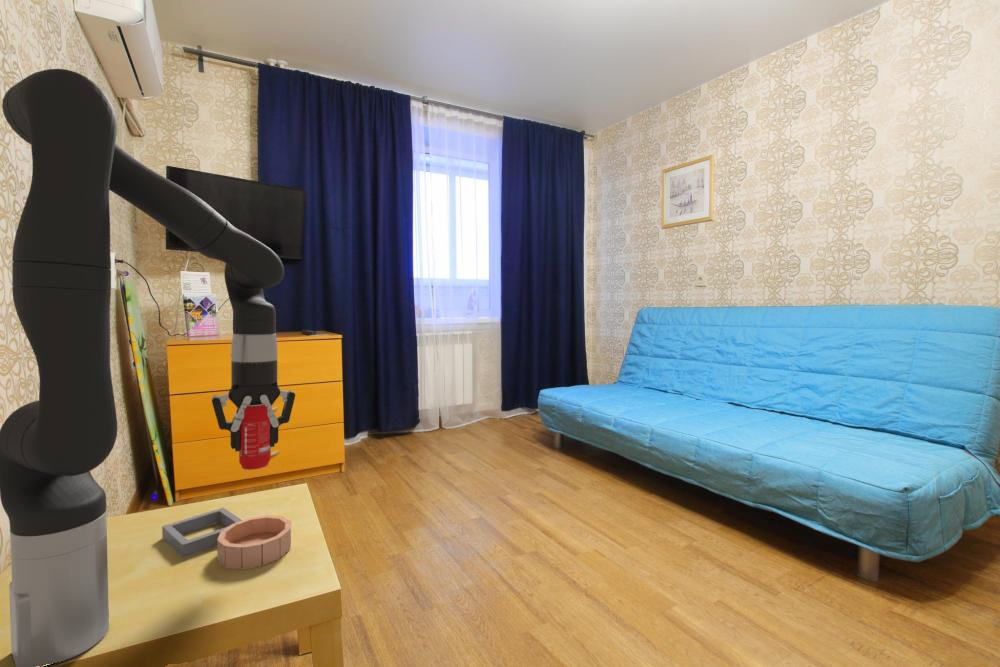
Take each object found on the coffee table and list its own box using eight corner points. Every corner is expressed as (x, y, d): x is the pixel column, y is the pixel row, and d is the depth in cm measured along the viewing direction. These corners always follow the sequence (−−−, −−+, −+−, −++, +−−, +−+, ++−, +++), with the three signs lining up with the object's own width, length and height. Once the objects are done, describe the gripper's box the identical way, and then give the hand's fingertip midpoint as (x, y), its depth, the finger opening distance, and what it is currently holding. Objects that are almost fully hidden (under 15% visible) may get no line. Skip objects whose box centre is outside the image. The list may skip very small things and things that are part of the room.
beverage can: (246, 472, 80) (246, 406, 80) (234, 466, 83) (234, 402, 83) (275, 465, 84) (275, 402, 84) (262, 459, 88) (262, 398, 87)
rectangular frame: (182, 558, 82) (182, 544, 82) (162, 538, 88) (162, 526, 88) (246, 534, 90) (246, 523, 90) (223, 518, 97) (223, 507, 97)
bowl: (235, 577, 76) (235, 554, 76) (207, 553, 84) (207, 532, 83) (302, 548, 86) (302, 528, 86) (272, 528, 93) (272, 510, 93)
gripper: (208, 361, 76) (209, 460, 77) (300, 358, 84) (299, 448, 84) (208, 357, 82) (209, 448, 83) (293, 354, 90) (293, 438, 91)
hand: (255, 447), depth 84 cm, fingers closed on beverage can, 5 cm apart
